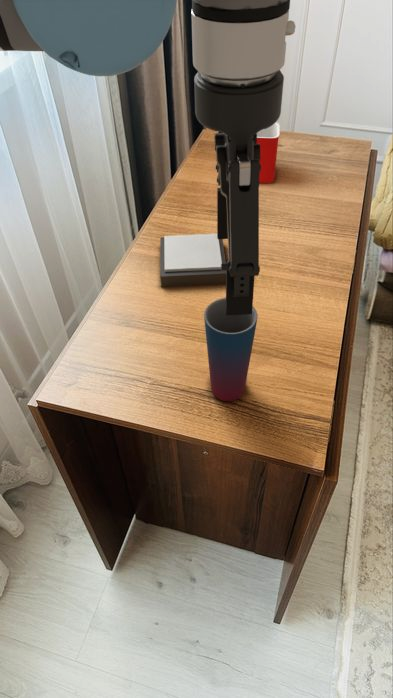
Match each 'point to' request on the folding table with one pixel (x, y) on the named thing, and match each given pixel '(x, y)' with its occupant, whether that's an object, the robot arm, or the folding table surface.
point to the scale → (191, 260)
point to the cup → (228, 349)
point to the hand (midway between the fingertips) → (233, 272)
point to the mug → (268, 152)
